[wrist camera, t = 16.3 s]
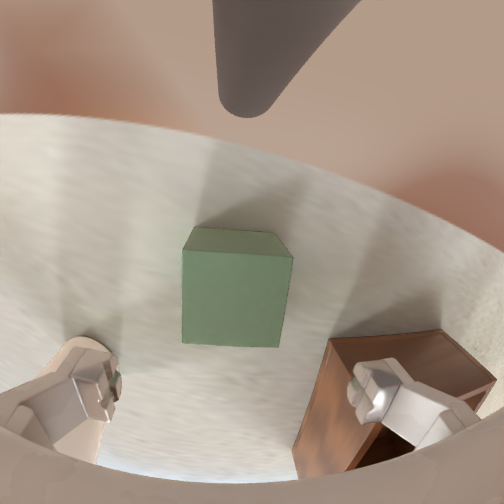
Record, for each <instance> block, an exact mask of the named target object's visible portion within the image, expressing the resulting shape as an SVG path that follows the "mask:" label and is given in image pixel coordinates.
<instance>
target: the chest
mask: <svg viewBox="0 0 504 504" xmlns="http://www.w3.org/2000/svg"><path fill="white" fill-rule="evenodd" d="M386 358H394V359H396V360H397V361H398V362H399V364H400V365H401V366H402V367H403V368H404V369H405V371H406V372H407V373H408V374H409V375H410V377H411V378H412V379H413V380H414V381H415V382H417V381H418V382H421V383H423V384H425V385H427V386H430V387H432V388H434V389H437V390H439V391H441V392H444V393H446V394H448V395H451V396H453V397H455V398H458V399H460V400H462V401H465V402H466V403H467V404H468V405H469V406H470V407H471V409H472V410H473V411H474V412H475V413H476V412H477V411H478V409H479V408H480V406H481V405H482V403H483V402H484V400H485V399H486V397H487V396H488V394H489V392H490V391H491V389H492V387H493V386H494V384H495V382H496V381H497V379H496V378H495V377H494V376H493V375H492V374H491V373H490V372H489V371H488V370H487V369H486V368H485V367H484V366H482V365H481V364H480V363H479V362H478V361H477V360H476V359H475V358H474V357H473V356H472V355H470V354H469V353H468V352H467V351H466V350H465V349H464V348H463V347H462V346H460V345H459V344H458V343H457V342H456V341H455V340H454V339H452V338H451V337H450V336H449V335H448V334H447V333H445V332H444V331H443V330H442V329H441V330H433V331H425V332H416V333H406V334H395V335H383V336H369V337H352V338H329V340H328V343H327V347H326V350H325V354H324V357H323V361H322V364H321V368H320V371H319V374H318V377H317V381H316V384H315V387H314V390H313V393H312V396H311V399H310V402H309V405H308V408H307V411H306V414H305V417H304V419H303V422H302V425H301V428H300V430H299V433H298V436H297V438H296V441H295V444H294V446H293V449H292V454H293V458H294V462H295V466H296V470H297V474H298V478H299V479H306V478H313V477H319V476H325V475H330V474H336V473H340V472H345V471H350V470H354V469H358V468H362V467H366V466H370V465H373V464H377V463H380V462H384V461H387V460H390V459H393V458H396V457H399V456H402V455H405V454H408V453H411V452H413V450H414V449H415V448H416V447H415V446H414V445H412V444H411V443H409V442H408V441H406V440H405V439H404V438H402V437H401V436H399V435H398V434H396V433H395V432H394V431H392V430H391V429H389V428H388V427H387V426H385V425H384V424H382V423H381V422H377V423H371V424H366V425H361V424H360V422H359V420H358V418H357V416H356V414H355V410H356V408H355V407H354V406H352V405H350V403H349V401H348V398H347V386H348V383H349V380H351V379H352V378H353V377H354V376H355V375H354V373H353V369H354V367H355V365H356V364H357V362H365V361H374V360H381V359H386Z"/></svg>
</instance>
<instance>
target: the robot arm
mask: <svg viewBox="0 0 504 504" xmlns="http://www.w3.org/2000/svg"><path fill="white" fill-rule="evenodd" d="M117 366H118V360H117V356H116V355H115V354H113V353H107V352H103V351H98V350H93V349H87V348H83V347H79V346H75V347H73V348H72V350H71V351H70V352H69V354H68V355H67V357H66V358H65V359H64V361H63V362H62V364H61V365H60V366H59V368H58V369H57V371H56V372H55V373H54V372H50V373H48V374H45V375H43V376H41V377H38V378H36V379H34V380H32V381H29V382H27V383H24V384H22V385H20V386H17V387H15V388H13V389H10V390H8V391H5V392H3V393H1V394H0V504H504V406H503V407H502V408H500V409H499V410H497V411H496V412H494V413H492V414H491V415H489V416H487V417H486V418H484V419H482V420H481V419H480V418H479V417H478V415H477V414H476V413H475V412H474V411H473V410H472V409H471V407H470V406H469V405H468V404H467V403H466V402H465V401H462V400H460V399H458V398H455V397H453V396H451V395H448V394H446V393H444V392H441V391H439V390H437V389H434V388H432V387H430V386H427V385H425V384H423V383H421V382H418V381H417V382H415V381H414V380H413V379H412V378H411V377H410V375H409V374H408V373H407V372H406V371H405V369H404V368H403V367H402V366H401V365H400V364H399V362H398V361H397V360H396V359H394V358H386V359H381V360H374V361H365V362H357V364H356V365H355V367H354V369H353V373H354V375H355V376H354V377H353V378H352V379H351V380H349V383H348V386H347V398H348V401H349V403H350V405H352V406H354V407H355V408H356V410H355V414H356V416H357V418H358V420H359V422H360V424H361V425H366V424H371V423H377V422H381V423H382V424H384V425H385V426H387V427H388V428H389V429H391V430H392V431H394V432H395V433H396V434H398V435H399V436H401V437H402V438H404V439H405V440H406V441H408V442H409V443H411V444H412V445H414V446H415V447H416V448H415V449H414V450H413V452H411V453H408V454H405V455H402V456H399V457H396V458H393V459H390V460H387V461H384V462H380V463H377V464H373V465H370V466H366V467H362V468H358V469H354V470H350V471H345V472H340V473H336V474H330V475H325V476H319V477H313V478H306V479H299V480H290V481H280V482H267V483H240V484H228V483H201V482H188V481H178V480H169V479H162V478H155V477H149V476H143V475H138V474H132V473H128V472H123V471H119V470H114V469H110V468H106V467H103V466H99V465H95V464H92V463H89V462H85V461H82V460H79V459H76V458H73V457H70V456H67V455H64V454H62V453H59V452H58V451H57V450H56V448H55V447H54V445H53V444H55V443H56V442H57V441H59V440H60V439H61V438H63V437H64V436H65V435H67V434H68V433H69V432H71V431H72V430H73V429H75V428H76V427H77V426H79V425H80V424H81V423H83V422H84V421H85V420H87V418H91V419H96V420H100V421H105V422H111V419H112V417H113V414H114V411H115V406H114V402H116V401H117V400H119V398H120V395H121V389H122V379H121V374H120V373H119V372H118V371H117V370H116V368H117Z"/></svg>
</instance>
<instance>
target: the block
mask: <svg viewBox="0 0 504 504" xmlns="http://www.w3.org/2000/svg"><path fill="white" fill-rule="evenodd" d="M292 264H293V256H292V255H291V253H290V252H289V251H288V249H287V248H286V247H285V246H284V244H283V243H282V242H281V240H280V239H279V238H278V237H277V235H276V234H275V233H270V232H257V231H245V230H232V229H218V228H204V227H194V228H193V230H192V232H191V234H190V236H189V238H188V240H187V242H186V244H185V246H184V248H183V250H182V343H186V344H199V345H214V346H233V347H272V348H278V347H279V342H280V337H281V331H282V325H283V320H284V314H285V308H286V302H287V296H288V290H289V283H290V277H291V270H292Z"/></svg>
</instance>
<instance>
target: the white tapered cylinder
mask: <svg viewBox="0 0 504 504" xmlns="http://www.w3.org/2000/svg"><path fill="white" fill-rule="evenodd" d="M75 346H79V347H83V348H87V349H93V350H98V351H103V352H107V353H111V352H110V351H109V350H108V349H107V348H106V347H104V346H103V345H102V344H100V343H99V342H97V341H95V340H93V339H90V338H87V337H74V338H71V339H69V340H68V341H67V342H66V343H65V344H64V345H63V346H62V347H61V349H60V350H59V351H58V353H57V354H56V355H55V356H54V357H53V358H52V360H51V361H50V362H49V363H48V364H47V365H46V366H45V367H44V368H43V369H42V370H41V372H40V373H39V374H38V375H37V376H36V377H35V378H34V379H36V378H38V377H41V376H43V375H45V374H48V373H50V372H54V373H55V372H56V371H57V369H58V368H59V366H60V365H61V364H62V362H63V361H64V359H65V358H66V357H67V355H68V354H69V352H70V351H71V350H72V348H73V347H75ZM116 370H117V371H118V372H119V367H118V366H117V368H116ZM34 379H33V380H34ZM104 426H105V421H100V420H96V419H91V418H87V420H85V421H84V422H83V423H81V424H80V425H79V426H77V427H76V428H75V429H73V430H72V431H71V432H69V433H68V434H67V435H65V436H64V437H63V438H61V439H60V440H59V441H57V442H56V443H55V444H53V445H54V447H55V448H56V450H57V451H58V452H59V453H62V454H64V455H67V456H70V457H73V458H76V459H79V460H82V461H85V462H89V463H92V464H95V465H96V464H97V459H98V454H99V449H100V444H101V439H102V435H103V430H104Z"/></svg>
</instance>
